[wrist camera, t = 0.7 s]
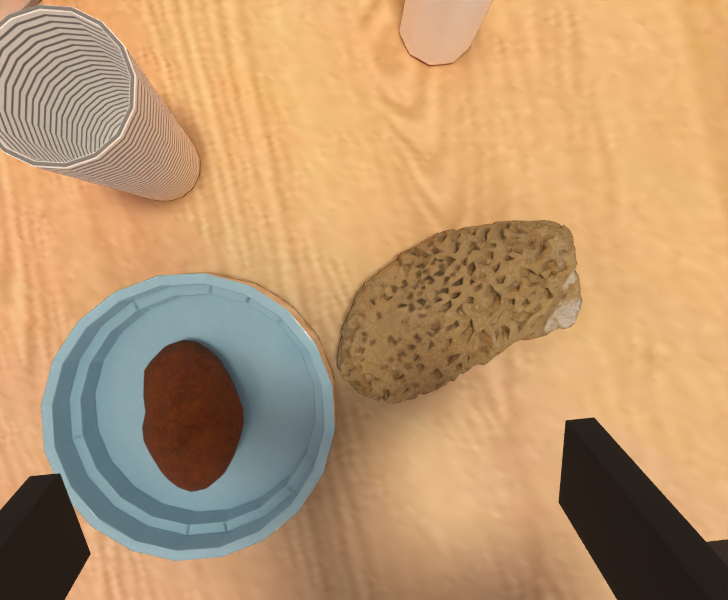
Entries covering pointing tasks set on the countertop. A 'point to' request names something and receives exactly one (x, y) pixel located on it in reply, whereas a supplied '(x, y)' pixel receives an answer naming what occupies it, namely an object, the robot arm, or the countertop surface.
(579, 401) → the countertop surface
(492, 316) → the sponge
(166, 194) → the cup
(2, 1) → the skyscraper
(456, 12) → the fire extinguisher
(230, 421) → the potato
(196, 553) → the bowl
